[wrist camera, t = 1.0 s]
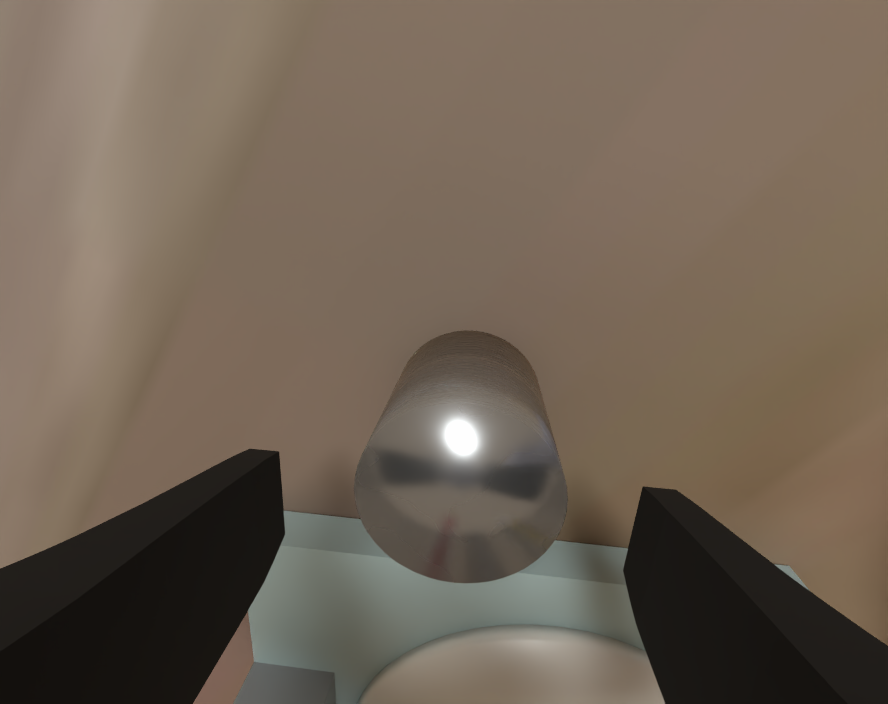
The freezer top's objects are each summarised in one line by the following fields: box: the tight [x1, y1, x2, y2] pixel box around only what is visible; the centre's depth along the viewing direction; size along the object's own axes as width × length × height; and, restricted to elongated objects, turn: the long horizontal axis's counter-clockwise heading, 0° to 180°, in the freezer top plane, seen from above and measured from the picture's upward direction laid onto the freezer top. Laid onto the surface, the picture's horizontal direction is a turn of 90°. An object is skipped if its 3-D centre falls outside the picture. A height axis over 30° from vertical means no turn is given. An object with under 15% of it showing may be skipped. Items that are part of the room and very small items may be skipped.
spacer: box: [354, 331, 568, 583], centre depth 12 cm, size 4×4×5 cm
